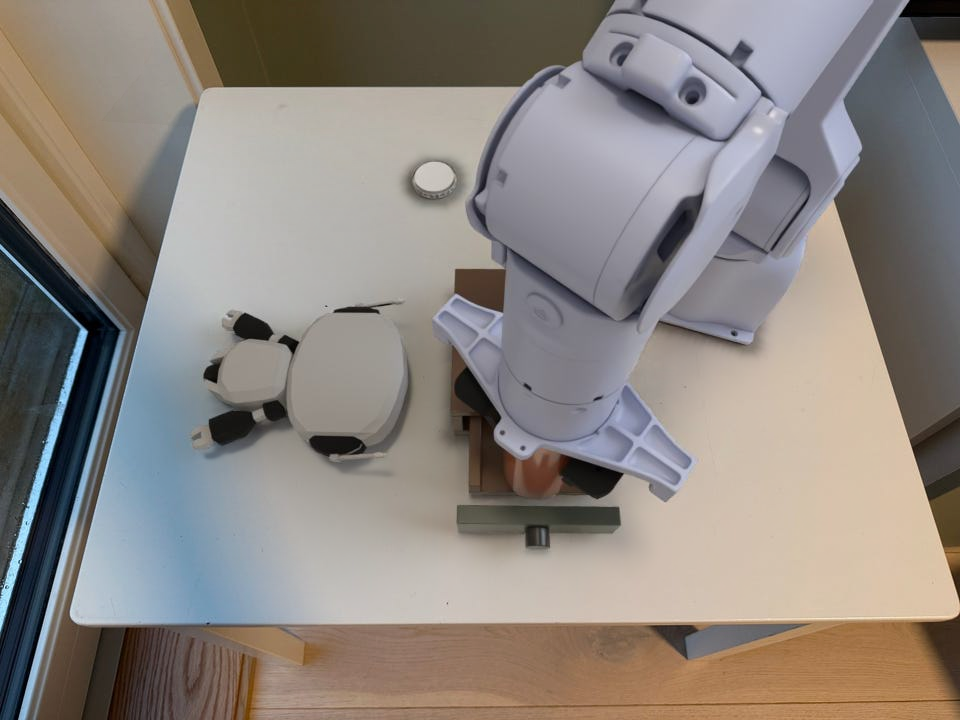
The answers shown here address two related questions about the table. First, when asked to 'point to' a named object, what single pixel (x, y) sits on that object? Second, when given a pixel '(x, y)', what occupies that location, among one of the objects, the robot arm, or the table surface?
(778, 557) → the table surface
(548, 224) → the robot arm
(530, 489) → the orange cylinder post
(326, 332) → the robot toy
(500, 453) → the drawer
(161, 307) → the table surface
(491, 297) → the cabinet
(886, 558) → the table surface
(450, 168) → the white bottle cap
